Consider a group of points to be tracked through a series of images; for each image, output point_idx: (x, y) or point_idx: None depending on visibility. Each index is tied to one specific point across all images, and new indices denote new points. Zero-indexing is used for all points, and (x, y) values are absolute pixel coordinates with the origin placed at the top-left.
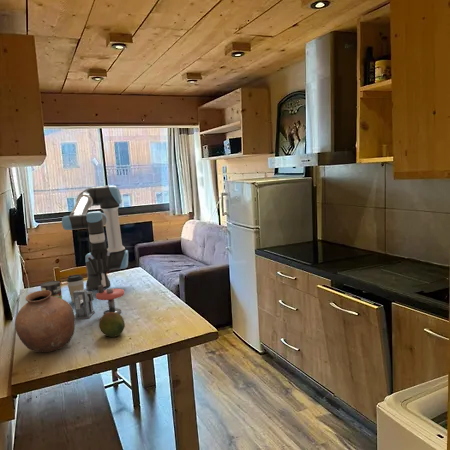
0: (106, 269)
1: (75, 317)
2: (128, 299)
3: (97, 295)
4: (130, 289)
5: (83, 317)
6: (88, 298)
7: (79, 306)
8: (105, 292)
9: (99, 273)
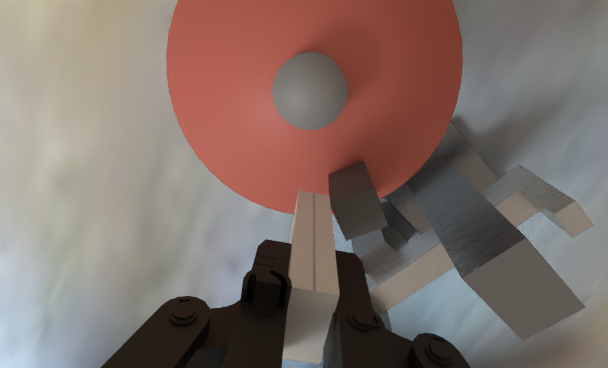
0: (202, 364)
1: None
2: (131, 211)
3: (437, 121)
4: (63, 334)
5: (472, 147)
6: (378, 277)
7: (532, 175)
8: (333, 139)
9: (379, 327)
